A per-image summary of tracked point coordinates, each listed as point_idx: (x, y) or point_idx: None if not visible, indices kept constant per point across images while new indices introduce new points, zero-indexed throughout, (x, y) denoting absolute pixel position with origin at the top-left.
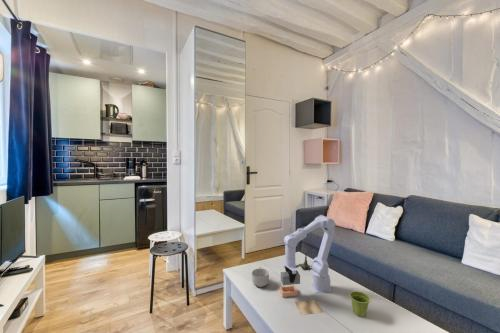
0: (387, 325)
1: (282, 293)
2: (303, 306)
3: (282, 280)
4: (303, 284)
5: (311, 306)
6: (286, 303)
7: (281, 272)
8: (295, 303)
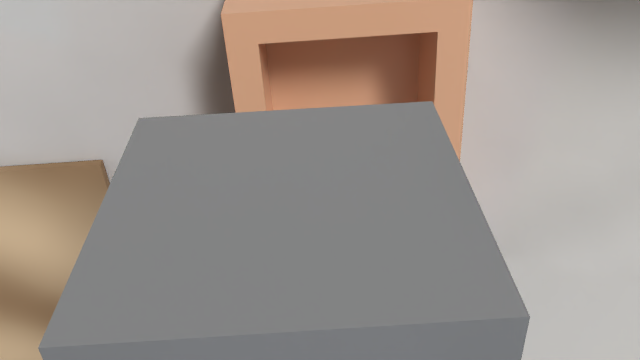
0: None
1: (229, 7)
2: (7, 253)
3: (190, 184)
4: (536, 354)
5: (26, 336)
6: (66, 18)
7: (486, 344)
8: (67, 166)
